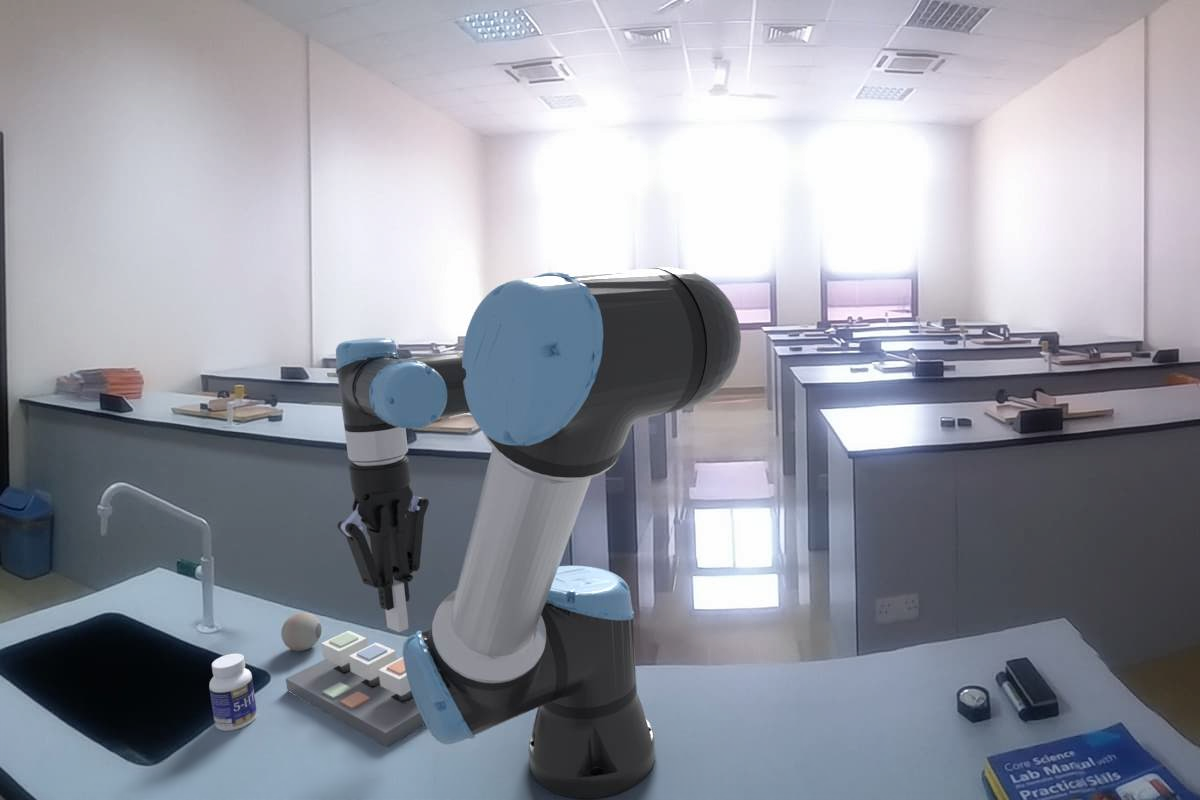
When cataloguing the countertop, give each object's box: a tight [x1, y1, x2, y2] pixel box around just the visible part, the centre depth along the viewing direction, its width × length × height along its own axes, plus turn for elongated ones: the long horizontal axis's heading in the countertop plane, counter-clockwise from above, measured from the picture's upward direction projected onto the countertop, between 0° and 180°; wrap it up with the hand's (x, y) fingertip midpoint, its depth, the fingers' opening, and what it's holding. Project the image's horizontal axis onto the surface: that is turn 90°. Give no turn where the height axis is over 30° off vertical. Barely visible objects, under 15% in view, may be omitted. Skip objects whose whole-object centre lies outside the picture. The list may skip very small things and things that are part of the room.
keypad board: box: [285, 659, 425, 748], centre depth 109 cm, size 24×12×2 cm, turn 51°
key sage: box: [321, 630, 369, 672], centre depth 114 cm, size 5×5×5 cm
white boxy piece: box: [349, 642, 398, 686], centre depth 109 cm, size 5×5×5 cm
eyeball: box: [280, 611, 322, 652], centre depth 124 cm, size 6×6×6 cm
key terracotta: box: [379, 656, 413, 701], centre depth 105 cm, size 5×5×5 cm
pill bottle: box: [208, 653, 258, 732], centre depth 105 cm, size 5×5×9 cm
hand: (398, 627), depth 104 cm, fingers closed
